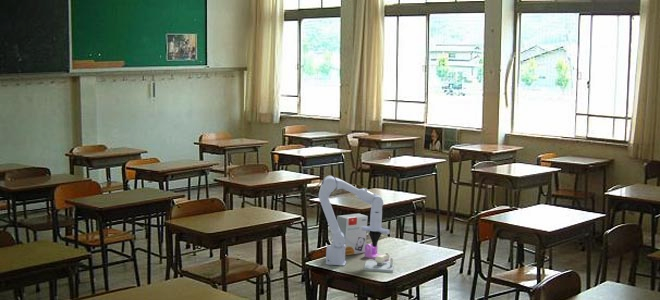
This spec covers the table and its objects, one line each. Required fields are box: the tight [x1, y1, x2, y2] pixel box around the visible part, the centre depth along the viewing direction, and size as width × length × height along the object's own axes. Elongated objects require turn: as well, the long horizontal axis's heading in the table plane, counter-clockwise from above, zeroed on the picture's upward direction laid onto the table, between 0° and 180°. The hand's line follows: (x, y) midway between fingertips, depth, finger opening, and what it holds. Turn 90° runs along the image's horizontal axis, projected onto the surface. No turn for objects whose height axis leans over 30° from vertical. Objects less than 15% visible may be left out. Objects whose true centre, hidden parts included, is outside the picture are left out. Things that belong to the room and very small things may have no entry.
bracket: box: [364, 242, 390, 262], centre depth 417 cm, size 13×6×7 cm, turn 47°
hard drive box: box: [336, 213, 369, 256], centre depth 425 cm, size 16×8×20 cm, turn 129°
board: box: [363, 257, 395, 274], centre depth 399 cm, size 14×14×6 cm
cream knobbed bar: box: [375, 253, 390, 263], centre depth 402 cm, size 10×4×3 cm, turn 147°
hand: (374, 246), depth 404 cm, fingers closed
